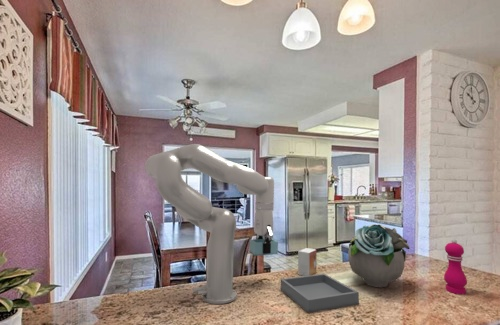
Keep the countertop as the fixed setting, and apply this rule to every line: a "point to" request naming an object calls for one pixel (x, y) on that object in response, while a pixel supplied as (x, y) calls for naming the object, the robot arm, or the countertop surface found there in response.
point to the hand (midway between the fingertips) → (263, 251)
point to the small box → (307, 262)
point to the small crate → (257, 247)
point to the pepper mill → (455, 269)
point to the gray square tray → (319, 292)
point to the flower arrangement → (377, 254)
